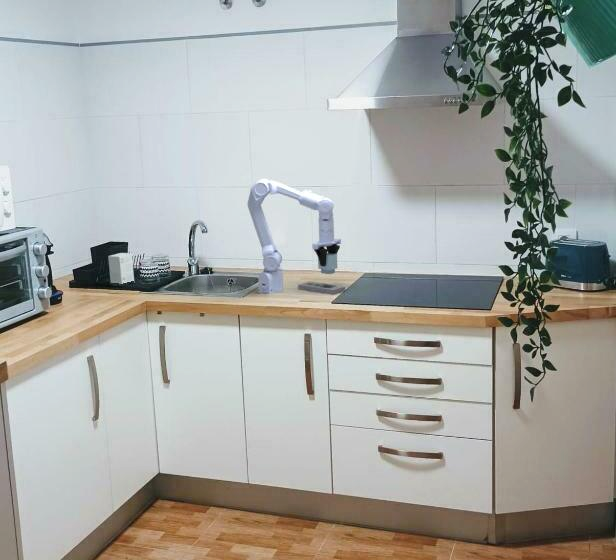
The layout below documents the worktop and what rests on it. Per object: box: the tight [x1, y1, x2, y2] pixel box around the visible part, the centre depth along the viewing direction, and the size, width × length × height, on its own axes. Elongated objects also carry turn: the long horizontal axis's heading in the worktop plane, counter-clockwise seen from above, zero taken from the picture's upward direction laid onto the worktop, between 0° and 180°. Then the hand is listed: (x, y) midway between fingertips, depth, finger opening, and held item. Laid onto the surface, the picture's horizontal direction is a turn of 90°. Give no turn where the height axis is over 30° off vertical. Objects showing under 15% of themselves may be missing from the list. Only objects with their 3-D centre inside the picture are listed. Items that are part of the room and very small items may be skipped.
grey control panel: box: [297, 281, 346, 296], centre depth 312 cm, size 7×18×3 cm, turn 48°
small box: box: [107, 252, 135, 284], centre depth 339 cm, size 8×6×13 cm
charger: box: [317, 252, 338, 275], centre depth 311 cm, size 5×6×8 cm
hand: (327, 264), depth 312 cm, fingers closed on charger, 5 cm apart
